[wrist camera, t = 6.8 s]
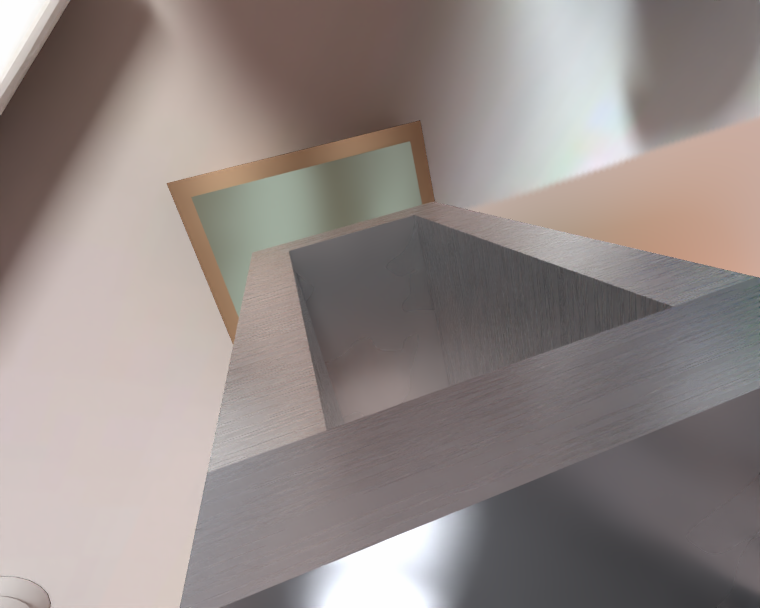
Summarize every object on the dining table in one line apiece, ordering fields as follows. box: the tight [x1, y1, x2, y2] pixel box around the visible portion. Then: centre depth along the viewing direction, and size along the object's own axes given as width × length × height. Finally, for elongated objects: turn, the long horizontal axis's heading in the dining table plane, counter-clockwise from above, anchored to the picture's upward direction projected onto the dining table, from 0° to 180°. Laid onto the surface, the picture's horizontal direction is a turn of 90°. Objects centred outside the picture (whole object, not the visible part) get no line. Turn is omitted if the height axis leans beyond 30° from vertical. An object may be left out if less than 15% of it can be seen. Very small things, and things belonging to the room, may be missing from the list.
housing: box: [180, 202, 760, 608], centre depth 9 cm, size 6×9×10 cm, turn 14°
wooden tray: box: [167, 121, 435, 344], centre depth 23 cm, size 12×14×3 cm
